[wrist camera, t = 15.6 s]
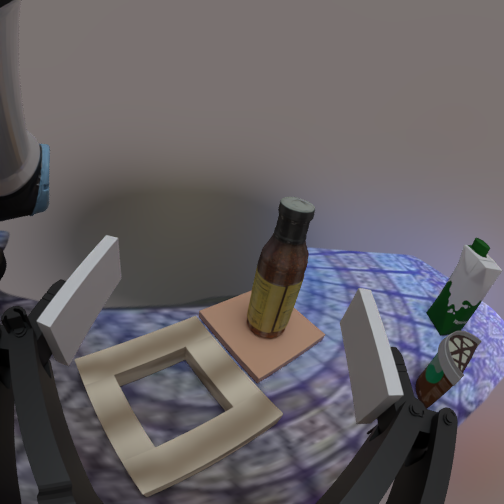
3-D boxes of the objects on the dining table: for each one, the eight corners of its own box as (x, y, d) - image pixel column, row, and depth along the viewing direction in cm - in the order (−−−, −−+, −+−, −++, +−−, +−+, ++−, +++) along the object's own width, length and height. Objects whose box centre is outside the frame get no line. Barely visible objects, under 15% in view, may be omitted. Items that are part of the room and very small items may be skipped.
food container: (428, 356, 42) (458, 318, 37) (449, 376, 38) (482, 339, 33) (397, 389, 36) (434, 349, 30) (421, 414, 32) (462, 377, 26)
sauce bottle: (281, 311, 45) (320, 197, 35) (288, 341, 40) (337, 220, 30) (241, 309, 44) (269, 188, 33) (244, 340, 39) (280, 211, 28)
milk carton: (444, 309, 55) (485, 239, 45) (462, 336, 48) (510, 264, 37) (421, 309, 54) (465, 233, 43) (439, 339, 46) (492, 260, 36)
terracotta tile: (198, 316, 42) (199, 311, 42) (265, 289, 51) (266, 284, 50) (257, 383, 34) (259, 378, 34) (322, 339, 43) (325, 334, 42)
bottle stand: (80, 372, 29) (74, 359, 27) (194, 329, 40) (195, 315, 38) (146, 497, 19) (142, 494, 17) (276, 423, 30) (283, 414, 28)
